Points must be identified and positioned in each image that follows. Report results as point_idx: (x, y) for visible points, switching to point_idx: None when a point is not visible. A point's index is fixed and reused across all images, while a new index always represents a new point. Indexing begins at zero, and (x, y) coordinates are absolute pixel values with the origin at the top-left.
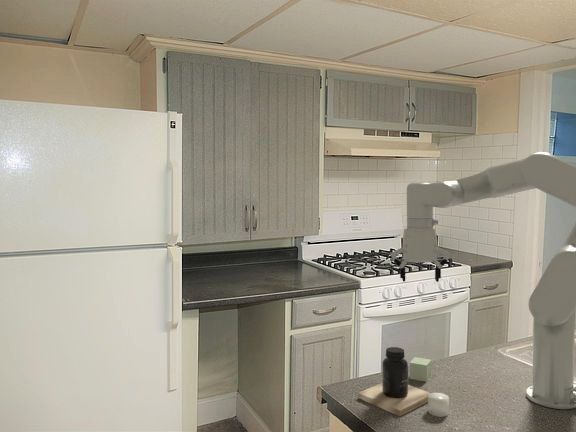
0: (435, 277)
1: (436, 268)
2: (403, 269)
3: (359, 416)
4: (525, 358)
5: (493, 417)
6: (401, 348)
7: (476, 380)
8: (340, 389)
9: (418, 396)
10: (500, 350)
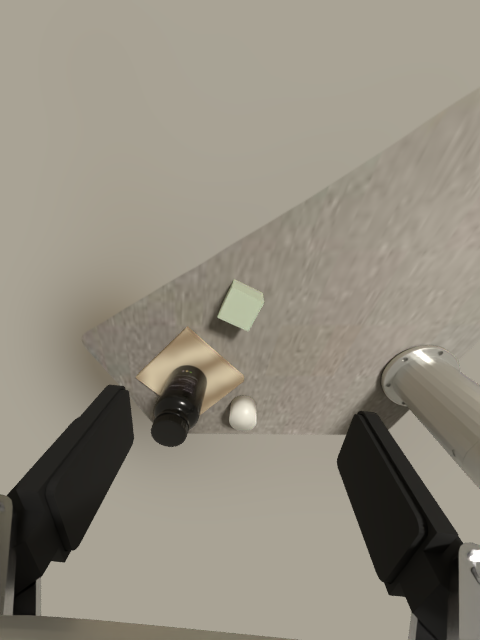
0: (356, 451)
1: (401, 568)
2: (61, 548)
3: (146, 413)
4: None
5: (306, 416)
6: (181, 428)
7: (336, 312)
8: (108, 346)
9: (221, 388)
10: None
